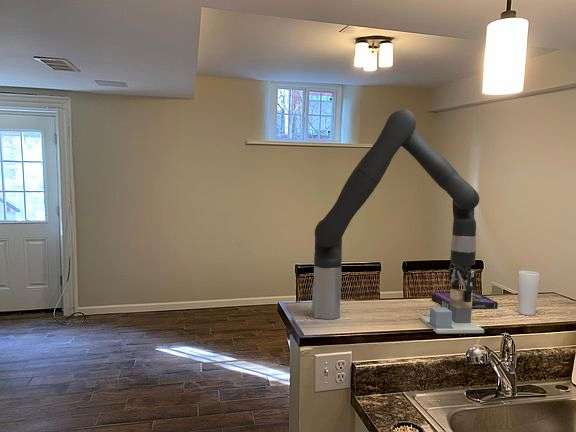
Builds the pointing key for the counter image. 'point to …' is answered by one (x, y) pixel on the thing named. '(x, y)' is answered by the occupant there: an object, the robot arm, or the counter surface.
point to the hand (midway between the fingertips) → (460, 298)
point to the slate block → (441, 317)
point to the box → (477, 301)
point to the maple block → (459, 299)
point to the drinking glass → (528, 292)
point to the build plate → (457, 327)
